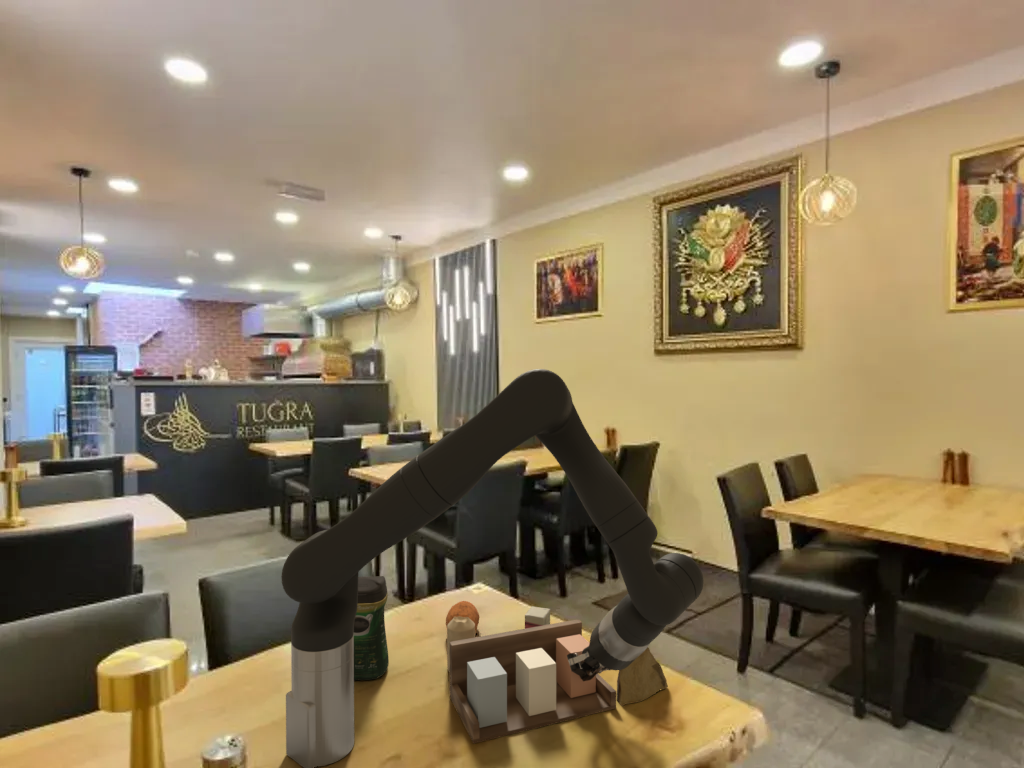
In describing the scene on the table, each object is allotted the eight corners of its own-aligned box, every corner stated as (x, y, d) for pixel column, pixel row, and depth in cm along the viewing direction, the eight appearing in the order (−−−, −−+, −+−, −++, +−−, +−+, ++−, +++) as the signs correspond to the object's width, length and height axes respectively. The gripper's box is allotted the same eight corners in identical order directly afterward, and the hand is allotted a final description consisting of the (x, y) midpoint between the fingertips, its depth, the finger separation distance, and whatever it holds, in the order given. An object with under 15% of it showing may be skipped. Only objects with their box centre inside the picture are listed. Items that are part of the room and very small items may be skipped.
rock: (664, 663, 112) (612, 654, 112) (675, 641, 106) (620, 632, 107) (668, 723, 103) (612, 713, 104) (680, 702, 98) (621, 692, 98)
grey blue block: (506, 721, 95) (506, 673, 95) (478, 728, 94) (478, 679, 93) (494, 702, 101) (494, 656, 101) (467, 708, 99) (467, 662, 99)
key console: (616, 708, 101) (616, 651, 100) (473, 743, 91) (473, 680, 91) (578, 669, 114) (578, 619, 113) (449, 697, 104) (449, 642, 104)
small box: (531, 641, 126) (531, 605, 125) (550, 644, 124) (550, 608, 124) (524, 652, 121) (523, 614, 121) (543, 655, 119) (543, 617, 119)
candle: (477, 661, 117) (477, 612, 117) (472, 676, 111) (472, 624, 111) (450, 660, 117) (450, 611, 117) (444, 674, 112) (444, 623, 112)
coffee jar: (391, 661, 117) (391, 570, 116) (383, 682, 109) (383, 584, 109) (343, 662, 117) (343, 570, 116) (332, 683, 109) (331, 585, 108)
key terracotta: (595, 692, 104) (595, 648, 104) (570, 697, 102) (571, 653, 102) (579, 675, 110) (579, 634, 110) (556, 681, 108) (556, 638, 108)
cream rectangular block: (556, 709, 99) (556, 663, 99) (529, 716, 97) (529, 668, 97) (541, 691, 104) (541, 647, 104) (515, 697, 102) (515, 652, 102)
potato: (441, 647, 123) (440, 614, 123) (451, 621, 136) (451, 591, 136) (474, 648, 122) (474, 615, 122) (482, 622, 135) (482, 592, 135)
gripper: (647, 606, 96) (609, 647, 107) (576, 618, 91) (544, 659, 103) (667, 652, 91) (624, 690, 103) (593, 668, 86) (557, 705, 98)
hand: (584, 674), depth 103 cm, fingers closed
